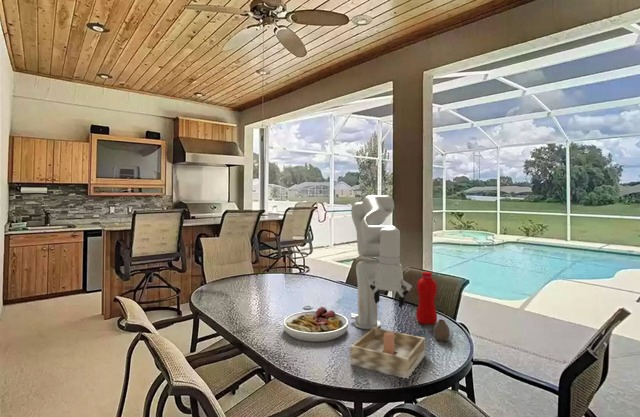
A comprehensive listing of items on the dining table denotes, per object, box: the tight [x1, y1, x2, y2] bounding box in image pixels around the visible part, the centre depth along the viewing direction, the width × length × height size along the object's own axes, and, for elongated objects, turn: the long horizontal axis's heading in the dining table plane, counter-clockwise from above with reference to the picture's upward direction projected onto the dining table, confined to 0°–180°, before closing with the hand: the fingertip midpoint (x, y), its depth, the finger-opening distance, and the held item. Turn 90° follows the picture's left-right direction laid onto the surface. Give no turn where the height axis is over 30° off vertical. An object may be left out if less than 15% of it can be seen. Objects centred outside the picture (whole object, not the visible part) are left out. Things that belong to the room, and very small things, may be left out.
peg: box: [384, 332, 394, 355], centre depth 145 cm, size 4×4×10 cm
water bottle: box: [415, 271, 438, 325], centre depth 187 cm, size 9×11×25 cm
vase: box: [432, 318, 451, 343], centre depth 164 cm, size 7×7×9 cm
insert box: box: [350, 328, 426, 380], centre depth 145 cm, size 22×22×7 cm
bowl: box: [283, 306, 349, 343], centre depth 175 cm, size 30×30×8 cm
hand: (389, 304), depth 144 cm, fingers open, 9 cm apart
